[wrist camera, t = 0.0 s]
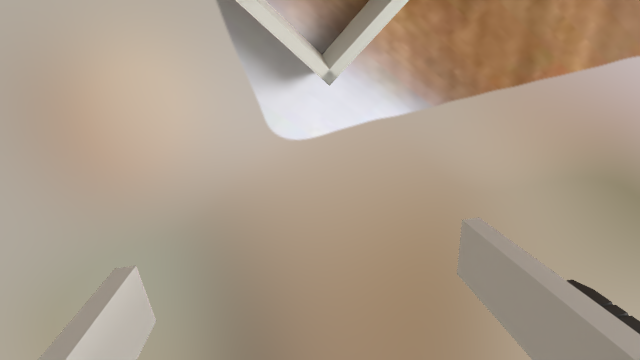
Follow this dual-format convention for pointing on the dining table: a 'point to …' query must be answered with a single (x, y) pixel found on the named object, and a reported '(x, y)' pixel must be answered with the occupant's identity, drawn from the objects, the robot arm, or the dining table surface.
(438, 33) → the dining table surface
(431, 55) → the dining table surface
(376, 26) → the u-shaped frame
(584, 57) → the dining table surface
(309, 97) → the dining table surface
